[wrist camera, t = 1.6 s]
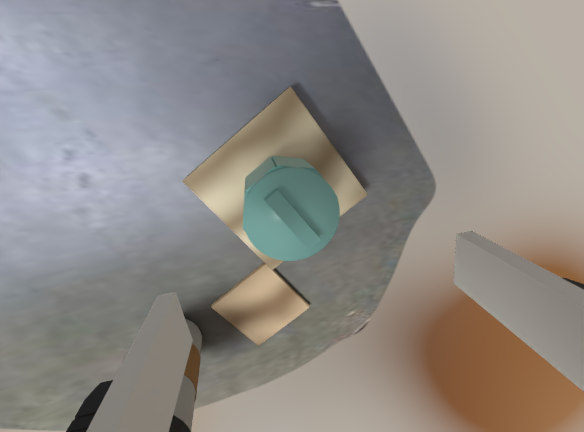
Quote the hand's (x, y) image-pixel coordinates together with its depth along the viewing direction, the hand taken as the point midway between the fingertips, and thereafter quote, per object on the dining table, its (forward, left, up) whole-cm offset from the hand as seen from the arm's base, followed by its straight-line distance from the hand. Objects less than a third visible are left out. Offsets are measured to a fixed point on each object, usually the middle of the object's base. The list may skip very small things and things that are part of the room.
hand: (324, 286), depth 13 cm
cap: (0, 0, -15) cm, 15 cm away
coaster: (+11, -12, -20) cm, 26 cm away
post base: (0, 0, -20) cm, 20 cm away
